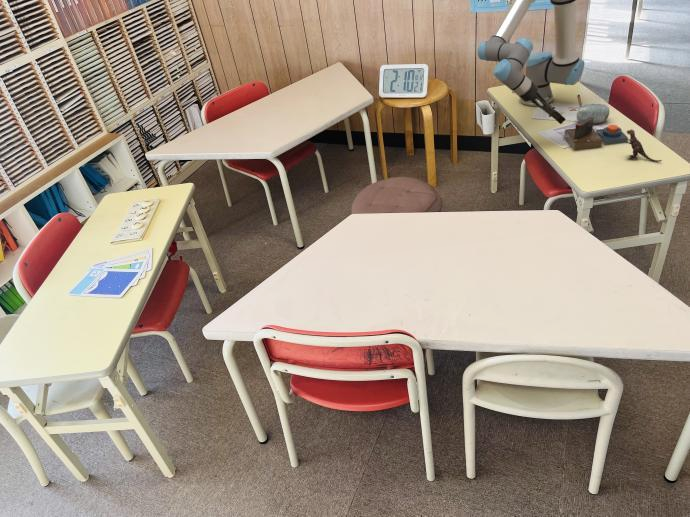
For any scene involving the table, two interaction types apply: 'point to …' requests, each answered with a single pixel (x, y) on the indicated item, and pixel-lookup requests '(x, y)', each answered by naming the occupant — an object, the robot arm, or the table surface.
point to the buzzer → (612, 136)
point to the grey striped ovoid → (593, 112)
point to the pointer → (583, 127)
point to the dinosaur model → (637, 147)
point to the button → (612, 128)
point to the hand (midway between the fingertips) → (562, 121)
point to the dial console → (583, 140)
